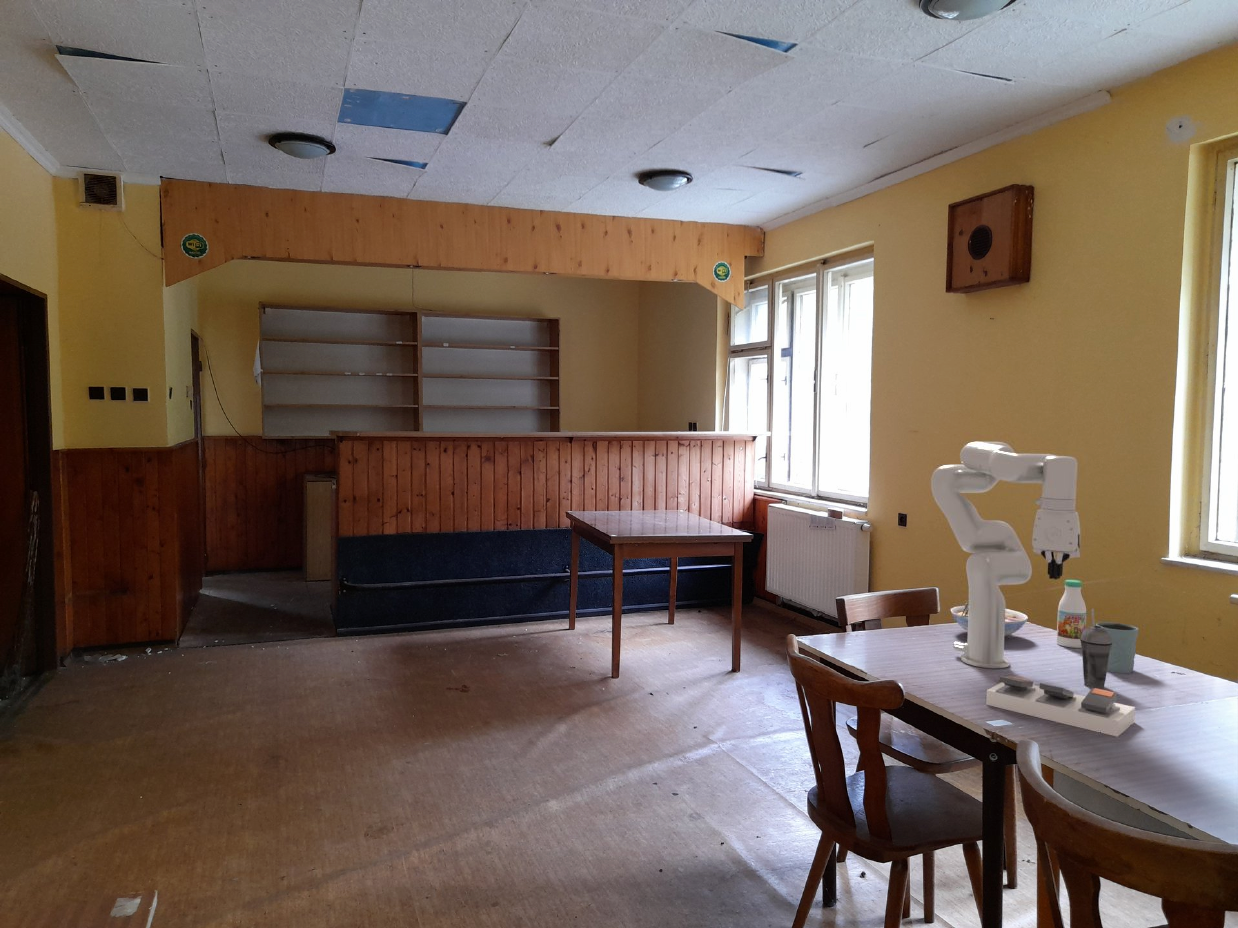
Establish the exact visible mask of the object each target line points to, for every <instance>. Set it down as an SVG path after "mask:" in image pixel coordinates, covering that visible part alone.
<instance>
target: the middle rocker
mask: <svg viewBox="0 0 1238 928" xmlns="http://www.w3.org/2000/svg"><path fill="white" fill-rule="evenodd" d="M1038 686H1039V689H1042V690H1044V694H1046V695H1051V696H1055V697H1060V698H1064V699H1068V697H1072V698H1073V696H1074V694H1075V693H1074V692H1073V691H1071V690H1068V689H1066V688H1065V687H1060V686H1054V685H1049V684H1045V683H1042V682H1040V683H1039V685H1038Z"/></svg>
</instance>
